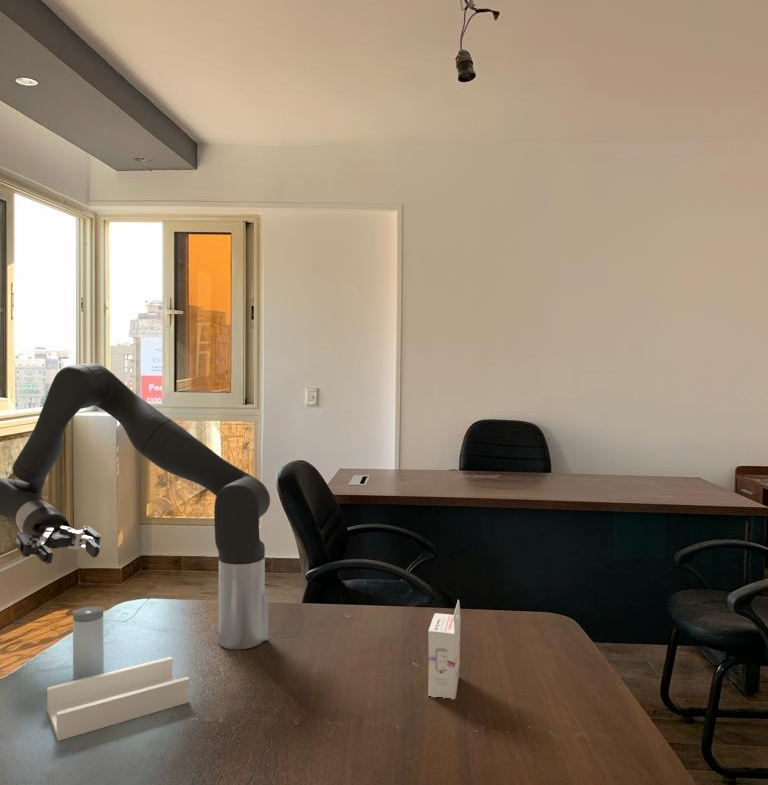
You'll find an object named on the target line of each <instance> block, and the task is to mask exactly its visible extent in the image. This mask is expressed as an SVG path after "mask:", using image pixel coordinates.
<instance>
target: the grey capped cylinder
mask: <svg viewBox="0 0 768 785" xmlns="http://www.w3.org/2000/svg"><path fill="white" fill-rule="evenodd" d="M104 657H105V656H104V608H103V607H102V606H97V605H89V606H84V607H80V608H78V609H76V610H74V611H73V612H72V679H73V680H72V681H75V680H79V679H83V678H87V677H91V676H95V675H99V674H103V673H105V672H104V671H105V668H104Z"/></svg>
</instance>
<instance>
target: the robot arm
mask: <svg viewBox="0 0 768 785" xmlns="http://www.w3.org/2000/svg"><path fill="white" fill-rule="evenodd" d="M48 389H49V390H48V392H47V395H46V398H45V401H44V403H43V406H42V409H41V411H40V414H39V417H38V419H37V421H36V424H35V425H34V428H33V430H32V432H31V434H30V436H29V437H28V440H27V441H26V443H25V445H24V446H23V448H22V449H21V451H20V452H19V453H18V456H17V458H15V460H14V463H13V464H12V465H13V466H12V473H13V475H14V476H15V477H16V478H17V479H15V478H8V477H7V478H4V477H3V478H0V516H2V517H3V518H6V519H8V520H11V521H13V523H14V524H15V525H16V526H17V527H18V530H19V531H18V532H17V533H16V539H15V547H16V548H17V550H18V551H19V553H20V554H21V555H22V557H25V558H28V557H30V556H31V555H33V556H34V557H36V558H39V560H40V561H41V562H44V563H45V564H46V565H48V564H49V565H50V564H52V563H53V562H52V561H53V556H54V554H53V551H52V550H54V549H59V548H62V549H63V548H67V549H69V550H70V549H71V550H74V551H78V550H84V551H85V552H86V553H87V554H88V555H89V556H90V557H91V558H92V559H93V558H98V557H99V556H98V555H99V554H100V548H101V545H100V541H101V538H102V535H101V534H100V533H98V532H97V531H96V530H95V529H93V528H92V527H91V526H89V525H83V527H82V529H76V528H73V527H71V524H70V523H69V521H68V519H67V517H65V516H64V515H63V514H62V513H61V512H60V511H59V510H58V509H56V507H55V506H54V505H52V504H51V503H48V502H47V501H46V500H45V499H44V498H43V497H42V496H43V495H42V494H43V489H44V485H45V483H46V480H47V477H48V475H49V473H50V472H51V470H52V468H53V467H54V464H55V463H56V462H57V460H58V459H59V457H60V455H61V453H62V449H63V443H64V442H63V441H64V433H65V430H66V427H67V426H68V425H69V422H70V421H71V420H72V419H73V418H74V416H76V414H77V413H78V412H79V411H80V410H83V409H85V408H86V409H87V408H89V407H90V408H91V407H96V408H99V409H100V410H102V411H104V413H107V414H108V415H110V416H111V417H112V418H114V419H115V420H116V421H118V423H119V424H120V425H121V426H122V428H123V429H124V431H125V433H126V435H127V438H128V439H129V441H130V443H131V444H132V446H133V448H134V449H135V450H136V451H137V452H138V453H140V454H141V455H142V456H143V457H145V458H146V459H147V460H149V461H150V462H152V463H153V464H154V465H155V466H157V467H158V468H160V469H162V470H164V471H165V472H167V473H169V474H172V475H174V476H176V477H180V478H182V479H185V480H187V481H191V482H192V483H195V484H198V485H199V486H202V487H203V488H204V489H206V490H208V491H209V492H210V493H212V494H213V495H214V496H216V497H215V501H214V506H213V507H214V509H213V510H214V511H213V512H214V514H213V517H214V518H213V519H214V541H215V547H216V548H217V551H218V631H217V636H218V639H217V640H218V644H219V646H221V647H223V648H225V649H229V650H245V649H250V648H254V647H256V646H257V647H258V645H260V644H262V643H263V642H265V641H268V640H269V594H268V593H266V592H265V579H266V578H265V576H266V575H265V561H266V560H265V559H266V558H265V555H266V553H265V552H266V551H265V550H266V549H265V548H266V546H265V543H264V542H263V541H262V540H261V538H260V518H261V517H262V516H264V515H265V514H266V513H267V511H268V509H269V508H270V504H271V497H270V496H271V495H270V493H269V491H268V489H267V487H266V485H265V484H264V483H263V482H262V481H260V480H259V479H258V478H256V477H254V476H252V475H251V474H249V473H247V472H245V471H243V470H242V469H240V468H238V467H237V466H235V465H233V464H232V463H231V462H228V461H227V460H225V459H224V458H223V457H221V456H220V455H218V454H217V453H216V452H215V451H213V450H212V449H210V448H209V447H208V445H205V444H204V442H202V441H200V440H199V439H197V438H196V437H195V436H194V435H193V434H191V433H190V432H189V431H187V430H186V429H185V428H184V427H182V426H181V425H180V424H178V423H176V422H175V421H174V420H172V418H170V417H168V416H166V415H165V414H163V413H162V412H161V411H159V410H158V409H156V408H155V407H153V405H152V404H150V403H148V402H147V401H145V400H144V399H143V398H141V397H140V396H138V395H137V394H136V393H135V392H133V390H132V389H130V388H129V387H128V386H127V385H126V384H125V383H124V382H123V381H122V380H120V379H119V378H118V377H117V376H116V375H115V374H114V373H113V372H112V371H110V369H108V368H107V367H105V366H103V365H102V364H99V363H96V362H87V363H85V362H84V363H79V364H72V365H68V366H65V367H63V368H61V369H60V370H59V371H58V372H57V373H56V374H55V376H54V377H53V380H52V382H51V384H50V387H49V388H48ZM83 541H85V544H84V543H83ZM74 542H75V543H74ZM50 549H51V550H50Z"/></svg>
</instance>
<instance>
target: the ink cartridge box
mask: <svg viewBox="0 0 768 785" xmlns="http://www.w3.org/2000/svg"><path fill="white" fill-rule="evenodd" d="M427 632H428V633H427V634H428V688H427V689H428V692H427V693H428V694H427V697H428V696H431V697H430V698H436V697H443V698H442V699H445V698H451V699H450V700H456V698H457V692H458V684H459V678H460V656H461V655H460V651H461V650H460V649H461V648H460V647H461V644H460V643H461V606H460V600H459V599H457V603H456V606H455V610H454V614H446V613H437V612H436V613H434V614H433V617H432V619H431V623H430V626H429V628H428V631H427Z"/></svg>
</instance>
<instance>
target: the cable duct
mask: <svg viewBox="0 0 768 785" xmlns="http://www.w3.org/2000/svg"><path fill="white" fill-rule="evenodd" d="M189 703H190V678H189V676H184V677H181V678H177V679H176V678H175V677H174V675H173V658H172V656H167V657H162V658H160V659H155V660H151V661H148V662H144V663H143V662H142V663H140V664H136V665H132V666H128V667H125V668H120V669H116V670H112V671H108V672H104V673H103V674H99V675H95V676H91V677H87V678H83V679H79V680H75V681H74V680H72V681H68V682H64V683H59V684H55V685H52V686H48V687H46V713H47V715H48V718H49V720H50V723H51V726H52V729H53V732H54V734H55V737H56V740H57V742H58V741H59V742H60V741H62V740H66V739H69V738H73V737H77V736H79V735H83V734H86V733H89V732H93V731H96V730H100V729H104V728H107V727H110V726H115V725H117V724H120V723H124V722H128V721H131V720H133V719H137V718H140V717H144V716H147V715H151V714H154V713H157V712H162V711H165V710H167V709H170V708H174V707H178V706H181V705H182V706H183V705H185V704H189Z"/></svg>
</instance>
